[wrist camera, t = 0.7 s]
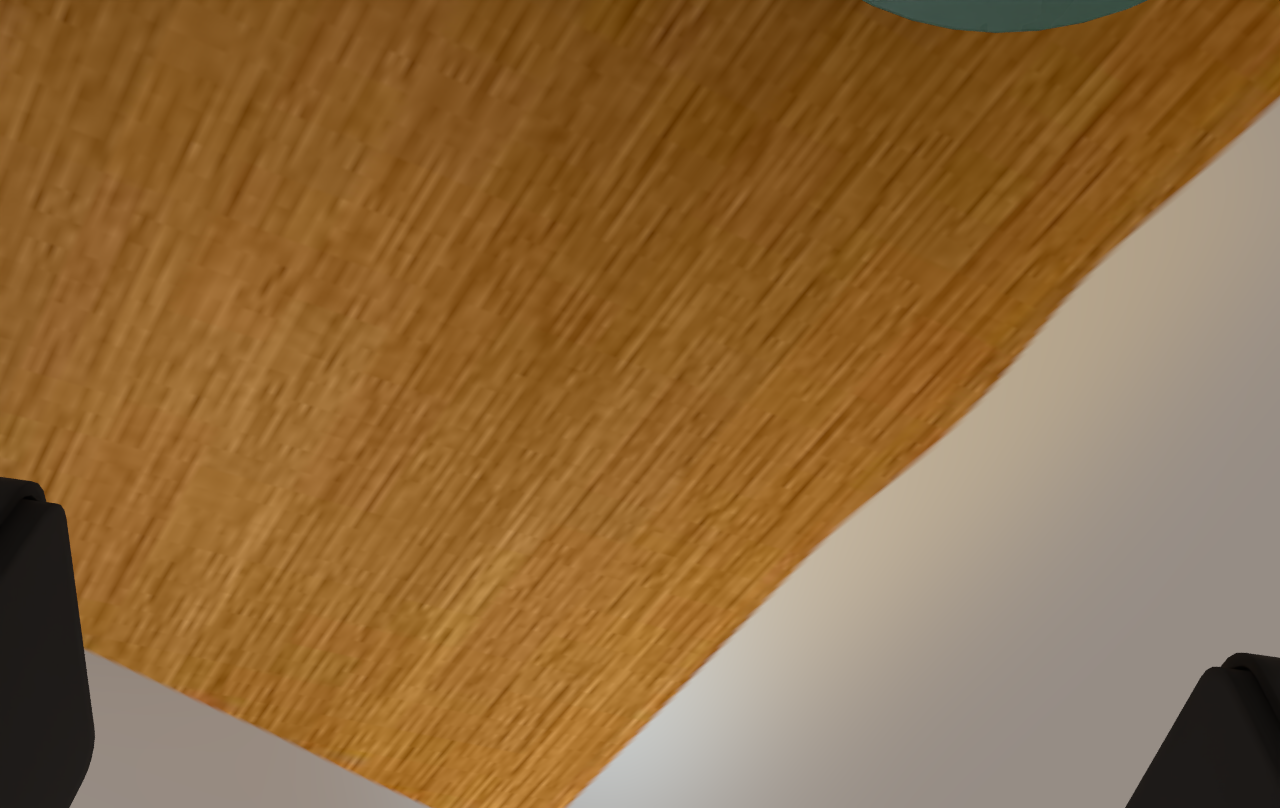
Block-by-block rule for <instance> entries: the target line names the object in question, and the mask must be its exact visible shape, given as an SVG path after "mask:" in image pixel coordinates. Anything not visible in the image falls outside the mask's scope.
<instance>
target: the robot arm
mask: <svg viewBox="0 0 1280 808" xmlns="http://www.w3.org/2000/svg"><path fill="white" fill-rule="evenodd" d="M94 740H95V731H94V722H93V715H92V707H91V700H90V692H89V685H88V677H87V669H86V662H85V654H84V647H83V639H82V632H81V624H80V617H79V609H78V602H77V594H76V587H75V579H74V572H73V564H72V557H71V549H70V542H69V534H68V527H67V519H66V515H65V511H64V509H63V508H62V506H61V505H59V504H56V503H49V502H46V499H45V495H44V491H43V489H42V488H41V487H40V485H39V484H38V483H35V482H32V481H25V480H18V479H11V478H4V477H0V808H69V807H70V805H71V803H72V801H73V800H74V798H75V796H76V794H77V792H78V790H79V788H80V786H81V784H82V782H83V780H84V778H85V775H86V773H87V771H88V768H89V765H90V762H91V758H92V753H93V749H94ZM1125 808H1280V658H1277V657H1270V656H1263V655H1256V654H1249V653H1236V654H1234V655H1232V656H1230V657H1228V658H1227V660H1226V661H1225V662H1224V663H1223V665H1222V666H1221V667H1212V668H1209V669H1208V670H1206V671H1205V673H1204V674H1203V675H1202V676H1201V678H1200V680H1199V681H1198V683H1197V685H1196V686H1195V688H1194V690H1193V692H1192V693H1191V695H1190V697H1189V699H1188V700H1187V702H1186V704H1185V705H1184V707H1183V709H1182V711H1181V712H1180V714H1179V716H1178V718H1177V719H1176V721H1175V723H1174V725H1173V726H1172V728H1171V730H1170V731H1169V733H1168V735H1167V737H1166V738H1165V740H1164V742H1163V743H1162V745H1161V747H1160V749H1159V750H1158V752H1157V754H1156V756H1155V757H1154V759H1153V761H1152V763H1151V764H1150V766H1149V768H1148V769H1147V771H1146V773H1145V775H1144V776H1143V778H1142V780H1141V781H1140V783H1139V785H1138V787H1137V788H1136V790H1135V792H1134V794H1133V795H1132V797H1131V799H1130V800H1129V802H1128V804H1127V806H1126V807H1125Z"/></svg>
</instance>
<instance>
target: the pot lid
mask: <svg viewBox="0 0 1280 808" xmlns="http://www.w3.org/2000/svg"><path fill="white" fill-rule="evenodd" d="M863 1H864V2H866V3H868V4H870V5H872V6H874V7H877V8H880V9H882V10H885V11H888V12H890V13H893V14H896V15H899V16H901V17H904V18H907V19H909V20H912V21H917V22H921V23H926V24H930V25H935V26H940V27H944V28H949V29H954V30H966V31H979V32H991V33H1002V32H1021V31H1039V30H1045V29H1051V28H1056V27H1062V26H1067V25H1073V24H1078V23H1084V22H1087V21H1090V20H1093V19H1097V18H1100V17H1103V16H1106V15H1110V14H1113V13H1116V12H1119V11H1123V10H1126V9H1129V8H1131V7H1133V6H1135V5H1138V4H1140V3H1142V2H1145V1H1147V0H863Z"/></svg>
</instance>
